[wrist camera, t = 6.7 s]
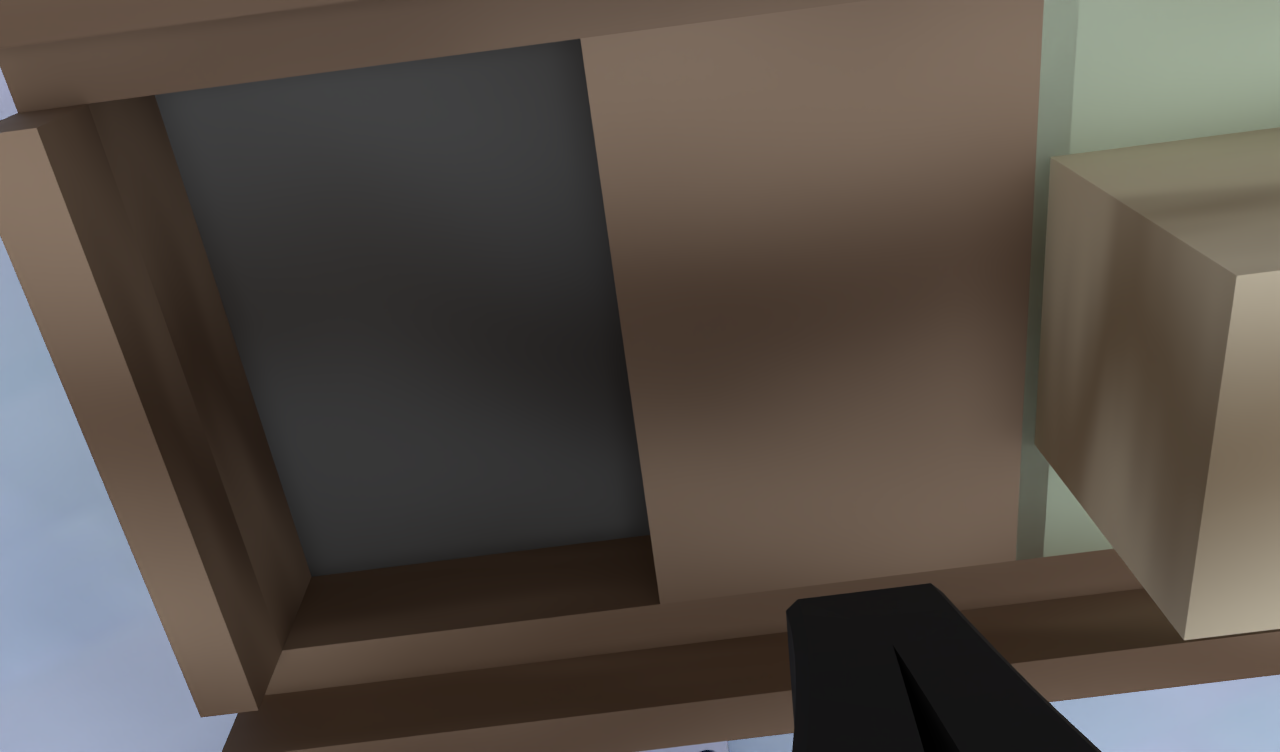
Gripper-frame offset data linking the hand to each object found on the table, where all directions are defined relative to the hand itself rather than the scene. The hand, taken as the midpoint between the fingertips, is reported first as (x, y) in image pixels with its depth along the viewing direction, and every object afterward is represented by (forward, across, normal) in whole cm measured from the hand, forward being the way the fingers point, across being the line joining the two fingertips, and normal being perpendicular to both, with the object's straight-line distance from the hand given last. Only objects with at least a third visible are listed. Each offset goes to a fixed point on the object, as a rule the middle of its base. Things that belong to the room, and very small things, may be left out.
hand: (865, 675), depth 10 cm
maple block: (+8, -7, 0) cm, 11 cm away
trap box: (+10, -4, 0) cm, 11 cm away
